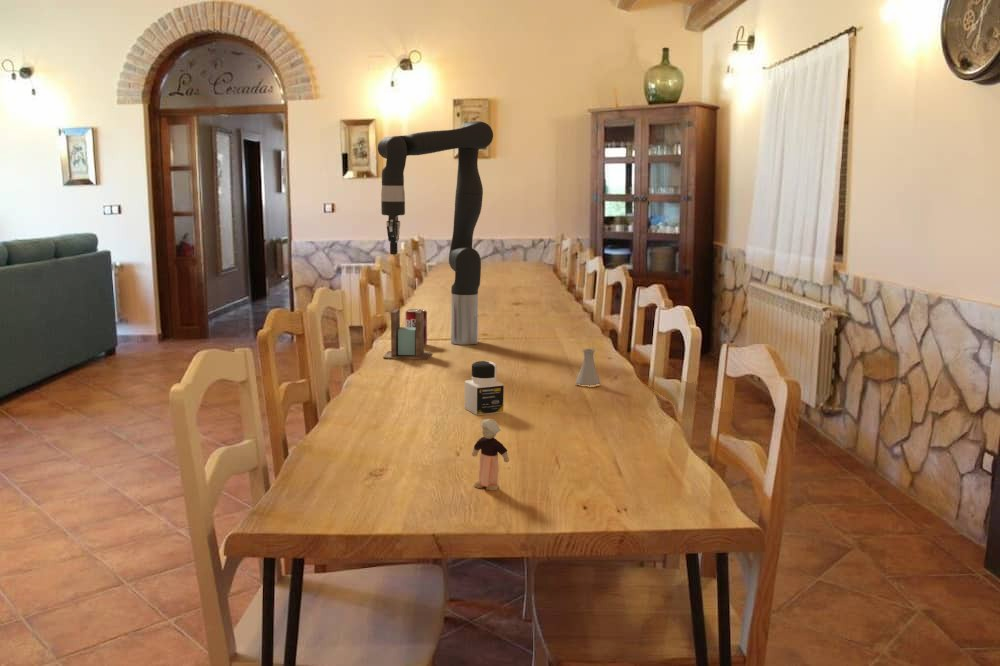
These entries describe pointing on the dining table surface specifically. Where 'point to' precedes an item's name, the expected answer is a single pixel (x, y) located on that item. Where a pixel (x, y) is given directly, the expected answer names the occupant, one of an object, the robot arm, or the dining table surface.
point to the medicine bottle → (484, 390)
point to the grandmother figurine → (489, 455)
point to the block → (407, 341)
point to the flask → (588, 370)
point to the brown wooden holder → (419, 337)
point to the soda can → (412, 321)
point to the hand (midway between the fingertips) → (393, 254)
